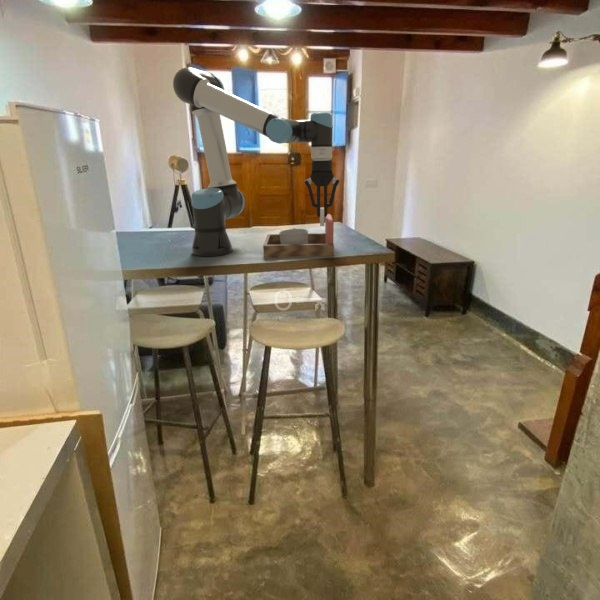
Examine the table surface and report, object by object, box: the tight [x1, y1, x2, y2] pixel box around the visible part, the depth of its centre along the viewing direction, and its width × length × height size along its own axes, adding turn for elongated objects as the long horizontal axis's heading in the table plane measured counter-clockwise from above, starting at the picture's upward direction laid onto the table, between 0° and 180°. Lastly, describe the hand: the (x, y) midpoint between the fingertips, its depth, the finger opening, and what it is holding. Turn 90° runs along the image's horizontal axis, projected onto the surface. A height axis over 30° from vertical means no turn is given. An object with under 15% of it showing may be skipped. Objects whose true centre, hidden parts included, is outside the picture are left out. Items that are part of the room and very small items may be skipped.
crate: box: [262, 232, 335, 259], centre depth 161 cm, size 25×20×4 cm
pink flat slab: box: [324, 213, 335, 244], centre depth 160 cm, size 2×17×12 cm, turn 0°
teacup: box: [278, 228, 309, 245], centre depth 161 cm, size 14×11×8 cm
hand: (322, 225), depth 158 cm, fingers closed
